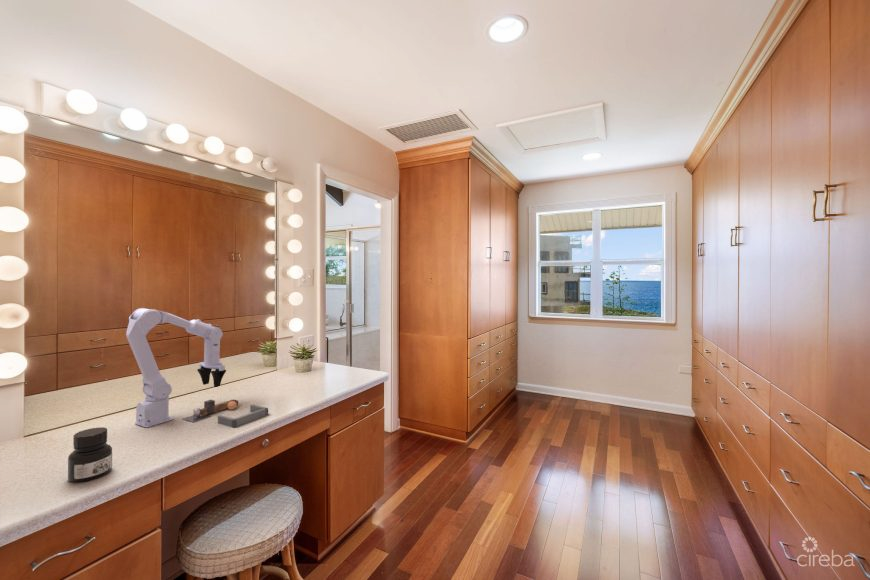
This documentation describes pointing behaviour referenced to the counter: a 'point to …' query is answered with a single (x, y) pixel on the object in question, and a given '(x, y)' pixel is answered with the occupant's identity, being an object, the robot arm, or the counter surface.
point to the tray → (244, 417)
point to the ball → (232, 405)
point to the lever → (214, 406)
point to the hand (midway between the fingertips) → (211, 385)
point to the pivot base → (196, 416)
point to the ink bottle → (89, 455)
